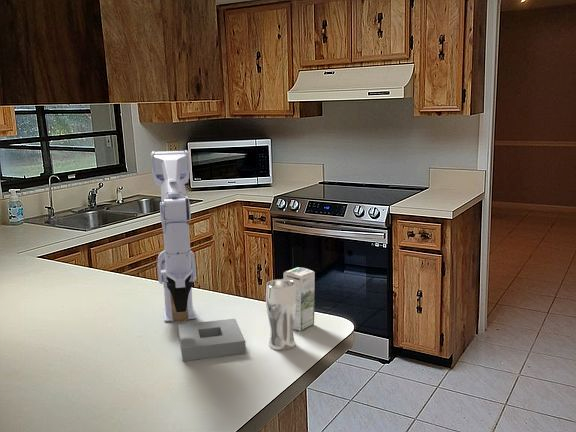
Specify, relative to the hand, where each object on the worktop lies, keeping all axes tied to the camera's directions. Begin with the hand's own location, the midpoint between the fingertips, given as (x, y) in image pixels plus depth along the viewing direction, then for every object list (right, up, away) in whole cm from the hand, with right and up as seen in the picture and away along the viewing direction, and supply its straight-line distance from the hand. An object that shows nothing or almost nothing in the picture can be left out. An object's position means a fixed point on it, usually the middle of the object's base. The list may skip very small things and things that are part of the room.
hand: (180, 308), depth 126 cm
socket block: (+7, -9, +3) cm, 11 cm away
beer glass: (+23, -9, +2) cm, 25 cm away
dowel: (0, -3, 0) cm, 3 cm away
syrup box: (+28, -7, +13) cm, 31 cm away
